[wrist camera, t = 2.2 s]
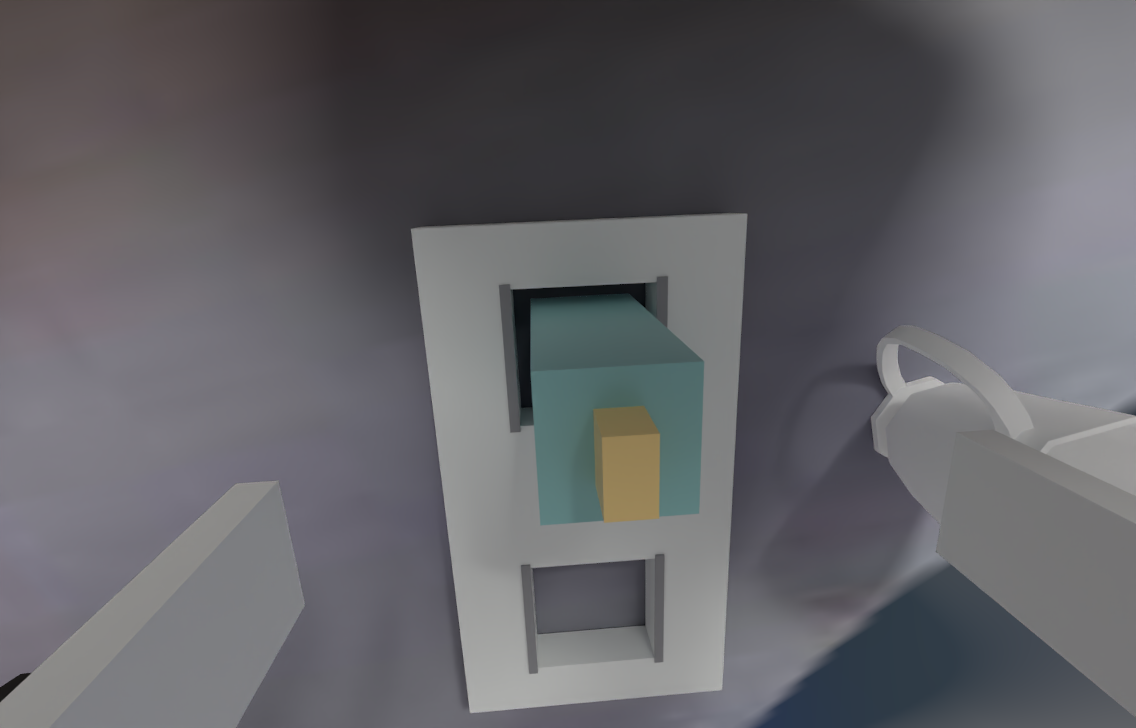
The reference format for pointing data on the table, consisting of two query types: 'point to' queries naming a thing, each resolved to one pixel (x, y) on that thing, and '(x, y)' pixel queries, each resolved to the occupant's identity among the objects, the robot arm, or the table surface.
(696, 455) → the plug
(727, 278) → the panel
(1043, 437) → the cup
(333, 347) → the table surface
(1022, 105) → the table surface
